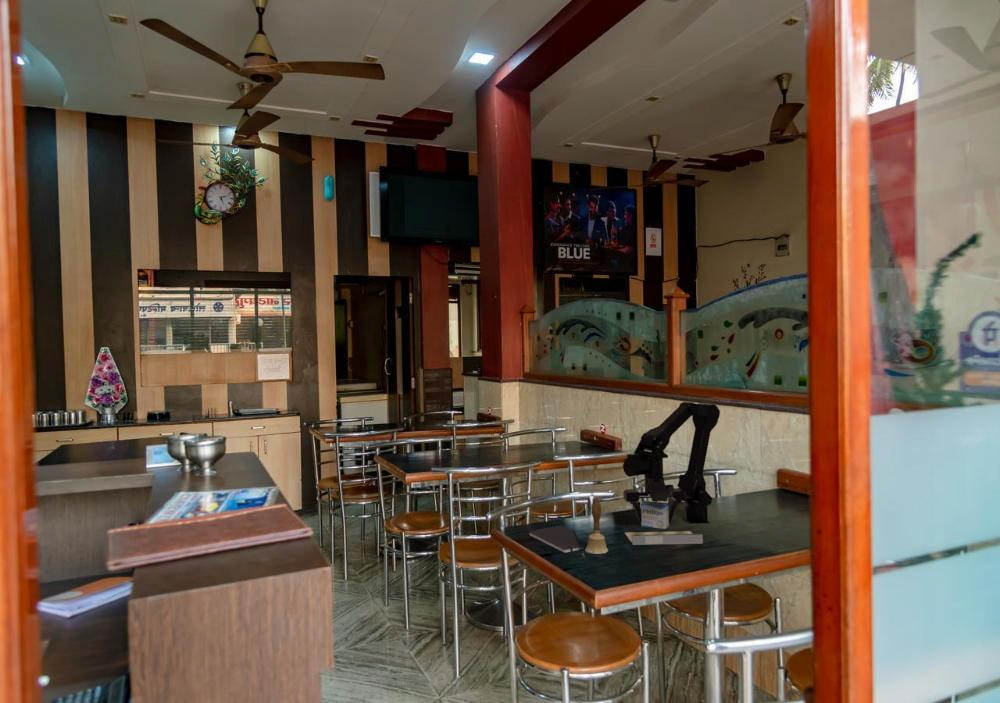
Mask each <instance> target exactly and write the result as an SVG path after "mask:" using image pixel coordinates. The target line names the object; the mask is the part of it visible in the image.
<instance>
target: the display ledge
mask: <svg viewBox="0 0 1000 703" xmlns="http://www.w3.org/2000/svg"><path fill="white" fill-rule="evenodd" d="M624 534H625V535H626V537H627V538H628V540H629V541H630V542H631V544H632V535H663V534H693V532H692V531H691V530H690V531H689V530H688V531H687V530H686V531H685V530H684V531H645V532H644V531H643V532H640V531H638V532H637V531H636V532H624ZM690 544H691V545H693V544H695V545H696V544H700V543H690ZM642 545H643V546H644V545H646V546H648V545H651V544H642ZM642 545H641V546H642Z"/></svg>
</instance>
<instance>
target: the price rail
mask: <svg viewBox="0 0 1000 703" xmlns="http://www.w3.org/2000/svg"><path fill="white" fill-rule="evenodd" d="M703 536H704V535H703V534H702V533H692V534H663V535H632V543H631V545H633V546H636V545H638V546H640V545H641V546H642V544H650V545H687V544H688V545H689V544H690V543H699V544H704V542H703V541H704V540H703Z"/></svg>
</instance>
